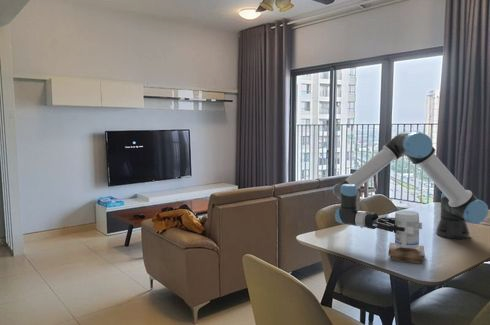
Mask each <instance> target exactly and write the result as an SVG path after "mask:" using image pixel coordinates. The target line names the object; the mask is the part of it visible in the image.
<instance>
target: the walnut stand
mask: <svg viewBox="0 0 490 325" xmlns="http://www.w3.org/2000/svg"><path fill="white" fill-rule="evenodd" d="M387 254H388V256H392V257H391V260H392V261H395V262H403V263H411V264H419V265H420V264H421V262H422V261H421V260H426V254H425V246H424V245H420V244H419V246H418V247H417V248H412V249H410V248H402V247H399V246H397V245H396V244H395V242H389V246H388V253H387Z"/></svg>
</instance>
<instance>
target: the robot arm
mask: <svg viewBox="0 0 490 325" xmlns="http://www.w3.org/2000/svg"><path fill="white" fill-rule="evenodd" d="M433 145H434V144H433V140H432V139H431V138H430V136H429V135H427V134H425V133H423V132H419V131H403V132H400V133H398V134H397V135H395V136H394V137H392V138H391V139H389V141H387V142H386V143H385V144H384V145H383V146H382V149H381V150H380V151H378V153H376V154H375V155H373V156H372V157H371V158H370V159H369V160H368V161H366V162H365V163H364V164H362V165H361V166H360V167H359V168H358V169H357V170H355V171H354V172H353V173H352V174H351V175H349V176H348V177H347V178H345V179H344V180H343V181H342V182H340V183H336V184H334V186H333V187H332V192H333V195H334V196H335V197H336V198H337V199H339V201H340V207H338V208H336V210H335V213H334V217H335V221H336V222H337V223H339V224H343V225H348V226H355V227H360V228H361V229H363V228H366V229H370V230H375V229H379V230H382V231H387V232H391V233H394V234H395V233H396V231H398V232H404V233H409V234H414V227H408V226H402V225H395V217H390V216H381V217H379V215H378V213H376V212H373V211H365V210H359V209H357V206H358V205H357V201H358V200H357V199H358V189H359V188H360V187H362V186H363V185H364V184H365V183H367V182H368V181H369V180H370V179H372V178H374V177H375V175H377V174H378V173H379V172H380V171H381V170H383V169H384V168H385V167H387V166H388V165H389V164H390V163H392V162H393V161H397V160H399V159H400V158H402V157H404V156H405V157H407V158H408V159H409V161H410V162H412V164H413V165H414V166H415V165H418V166H419V168H421V170H423V171H424V173H425V175H426V176H428V177H429V179H430V180H431V181H432V182H433V183H434V185H435V186H436V187H437V188H438V189H439V191H441V192H442V193H441V195H440V196H441V197H440V220H439V221H438V224H437V227H436V229H435V230H436V232H435V233H436V235H437V236H441V237H444V238H448V239H458V240H459V239H460V240H463V239H464V240H465V239H468V238H470V230H469V227H468V224H473V225H476V224H480V223H482V222H483V221H485V220H486V219H487V216H488V215H489V206H488V204H487V203H486V202H484V201H483V199H478V198H477V197H476V195H475V194H474V193H473V192H472V191H471V190H470V189H465V188H464V186H463V185H461V183H460V182H459V181H458V179H456V177H455V176H454V174H453V173H451V171H450V170H449V169H448V168H447V167H446V165H445V164H444V163H443V162H442V161H441V159H440V158H439V156H437V155H436V148H435V147H434V146H433ZM467 223H468V224H467ZM422 229H423V222H421V221H419V230H422Z"/></svg>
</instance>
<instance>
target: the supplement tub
mask: <svg viewBox="0 0 490 325" xmlns="http://www.w3.org/2000/svg"><path fill="white" fill-rule="evenodd" d="M394 214H395V216H394V218H395V225H402V226H408V227H414V234H409V233H404V232H398V231H396V233H394V243H395V244H396V245H397V246H399V247H402V248H410V249H412V248H417V247H418V246H419V245H420V229H419V222H420V214H419V212H418V211H415V210H404V209H403V210H397V211H395V213H394Z"/></svg>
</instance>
